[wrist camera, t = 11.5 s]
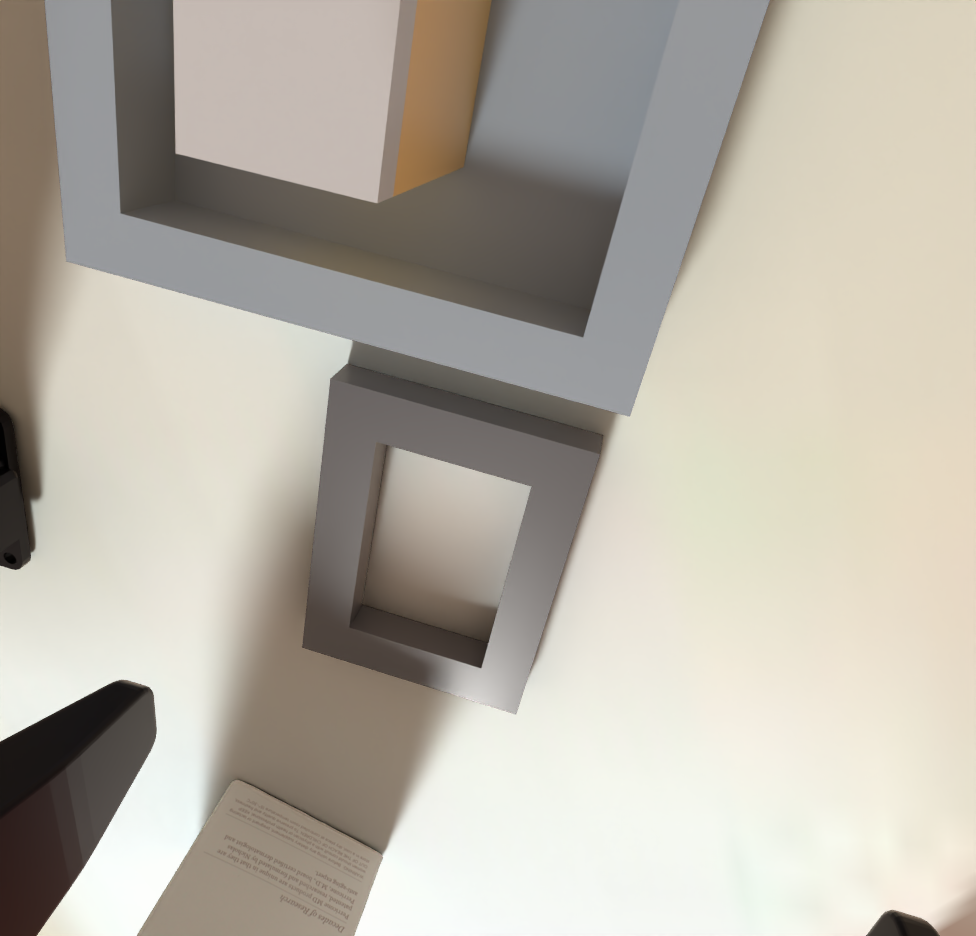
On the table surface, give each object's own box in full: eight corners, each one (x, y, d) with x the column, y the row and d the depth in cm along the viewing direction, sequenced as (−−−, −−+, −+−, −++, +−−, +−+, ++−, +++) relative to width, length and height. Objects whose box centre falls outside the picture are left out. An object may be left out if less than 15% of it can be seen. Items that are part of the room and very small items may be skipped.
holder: (316, 624, 26) (302, 647, 25) (346, 363, 21) (330, 378, 20) (522, 688, 25) (515, 714, 24) (603, 435, 20) (600, 454, 19)
